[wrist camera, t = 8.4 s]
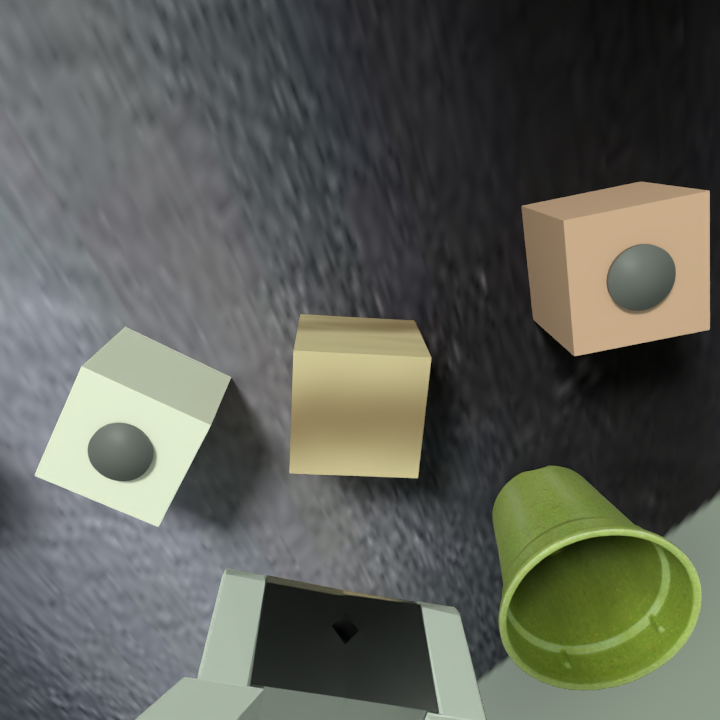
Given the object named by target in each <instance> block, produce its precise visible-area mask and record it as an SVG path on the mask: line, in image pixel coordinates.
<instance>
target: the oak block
mask: <svg viewBox="0 0 720 720" xmlns="http://www.w3.org/2000/svg"><path fill="white" fill-rule="evenodd" d="M430 367H431V355H430V353H429V351H428V349H427V347H426V344H425V342H424V340H423V338H422V336H421V334H420V331H419V329H418V327H417V325H416V323H415V321H412V320H394V319H376V318H357V317H339V316H321V315H303V314H300V319H299V324H298V330H297V335H296V341H295V346H294V355H293V384H292V413H291V442H290V471H289V473H294V474H320V475H346V476H372V477H398V478H418V473H419V464H420V455H421V447H422V438H423V429H424V420H425V411H426V402H427V393H428V384H429V375H430Z"/></svg>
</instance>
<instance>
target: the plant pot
mask: <svg viewBox="0 0 720 720" xmlns="http://www.w3.org/2000/svg"><path fill="white" fill-rule="evenodd" d="M493 526H494V531H495V537H496V542H497V547H498V553H499V559H500V565H501V572H502V578H503V590H502V600H501V603H500V609H499V630H500V635H501V639H502V643H503V645H504V648H505V650H506V652H507V653H508V655H509V657H510V658H511V659H512V661H513V662H514V663H515V664H516V665H517V666H518V667H519V668H520V669H521V670H523V671H524V672H525V673H527V674H528V675H530V676H531V677H533V678H535V679H537V680H539V681H541V682H543V683H546V684H549V685H552V686H555V687H559V688H564V689H570V690H599V689H604V688H611V687H617V686H620V685H623V684H626V683H630V682H632V681H635V680H637V679H639V678H642V677H643V676H645V675H647V674H649V673H651V672H653V671H654V670H656V669H657V668H659V667H660V666H662V665H663V664H664V663H666V662H668V661H669V660H670V659H671V658H672V657H673V656H674V655H675V654H676V653H677V652H678V651H679V650H680V649H681V648H682V646H683V645H684V644H685V643H686V642H687V640H688V639H689V637H690V635H691V634H692V632H693V629H694V627H695V625H696V623H697V620H698V616H699V614H700V609H701V599H702V594H701V585H700V581H699V577H698V574H697V572H696V570H695V567H694V566H693V564H692V563H691V561H690V560H689V559H688V558H687V556H686V555H685V554H684V553H683V552H682V551H681V550H680V549H679V548H677V547H676V546H675V545H674V544H673V543H671V542H670V541H668V540H667V539H665V538H663V537H661V536H659V535H657V534H655V533H652V532H649V531H646V530H644V529H642V528H641V527H639V526H636V525H634V524H633V523H632V522H631V521H630V520H629V519H628V518H626V517H625V516H624V515H623V514H622V513H621V512H620V511H619V510H618V509H617V508H615V507H614V506H613V505H612V504H611V503H610V502H609V501H608V500H607V499H606V498H604V497H603V496H602V495H601V494H600V493H599V492H598V491H597V490H596V489H595V488H594V487H593V486H592V485H590V484H589V483H588V482H587V481H586V480H585V479H584V478H583V477H582V476H581V475H579V474H578V473H576V472H574V471H572V470H570V469H567V468H564V467H560V466H547V467H544V468H540V469H537V470H533V471H526V472H522V473H520V474H519V475H517V476H515V477H514V478H512V479H511V480H510V481H509V482H508V483H507V484H506V485H505V486H504V487H503V488H502V490H501V491H500V493H499V494H498V496H497V498H496V500H495V503H494V507H493Z"/></svg>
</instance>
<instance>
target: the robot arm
mask: <svg viewBox="0 0 720 720" xmlns="http://www.w3.org/2000/svg"><path fill="white" fill-rule="evenodd" d="M135 720H487V719H486V715H485V711H484V707H483V703H482V699H481V696H480V691H479V687H478V684H477V680H476V676H475V672H474V668H473V664H472V660H471V656H470V652H469V648H468V644H467V640H466V636H465V632H464V628H463V625H462V621H461V617H460V613H459V612H458V611H457V609H456V608H455V607H451V606H444V605H438V604H431V603H424V602H416V603H415V602H413V601H407V600H401V599H395V598H389V597H382V596H376V595H370V594H364V593H358V592H352V591H346V590H340V589H335V588H329V587H324V586H319V585H314V584H309V583H304V582H299V581H294V580H289V579H283V578H278V577H273V576H268V575H267V576H266V579H265V576H264V575H259V574H254V573H249V572H244V571H238V570H233V569H228V568H226V570H225V572H224V574H223V576H222V580H221V584H220V588H219V592H218V596H217V600H216V604H215V608H214V612H213V616H212V620H211V624H210V628H209V633H208V637H207V641H206V645H205V649H204V653H203V657H202V661H201V665H200V669H199V673H198V677H197V679H196V678H188V677H183V678H182V679H181V680H180V681H179V682H177V683H176V684H175V685H174V686H173V687H172V688H171V689H169V690H168V691H167V692H166V693H165V694H164V695H163V696H161V697H160V698H159V699H158V700H157V701H156V702H155V703H153V704H152V705H151V706H150V707H149V708H148V709H147V710H146V711H144V712H143V713H142V714H141V715H140V716H139V717H138V718H136V719H135Z"/></svg>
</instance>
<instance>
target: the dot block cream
mask: <svg viewBox="0 0 720 720" xmlns="http://www.w3.org/2000/svg"><path fill="white" fill-rule="evenodd" d="M230 379H231V377H230V376H227V375H225V374H223V373H221V372H219V371H217V370H215V369H213V368H211V367H209V366H206V365H204V364H202V363H200V362H198V361H196V360H194V359H192V358H190V357H188V356H186V355H183V354H181V353H179V352H177V351H175V350H173V349H171V348H169V347H167V346H165V345H162V344H160V343H158V342H156V341H154V340H152V339H150V338H148V337H146V336H144V335H142V334H139V333H137V332H135V331H133V330H131V329H129V328H127V327H125V328H123V329H122V330H121V331H120V332H119V333H118V334H117V335H116V336H115V337H113V338H112V339H111V340H110V341H109V342H108V343H107V344H106V345H105V346H103V347H102V348H101V349H100V350H99V351H98V352H97V353H96V354H95V355H94V356H92V357H91V358H90V359H89V360H88V361H87V362H86V363H85V364H84V365H82V367H81V369H80V371H79V373H78V376H77V378H76V380H75V383H74V385H73V387H72V390H71V392H70V394H69V397H68V399H67V401H66V404H65V406H64V408H63V411H62V413H61V415H60V417H59V420H58V422H57V424H56V427H55V429H54V431H53V434H52V436H51V438H50V441H49V443H48V445H47V448H46V450H45V452H44V454H43V457H42V459H41V461H40V464H39V466H38V468H37V471H36V473H35V475H34V476H36V477H39V478H41V479H44V480H46V481H48V482H51V483H53V484H56V485H58V486H61V487H63V488H65V489H68V490H70V491H73V492H75V493H77V494H80V495H82V496H85V497H87V498H90V499H92V500H94V501H97V502H99V503H102V504H104V505H106V506H109V507H111V508H114V509H116V510H119V511H121V512H123V513H126V514H128V515H131V516H133V517H135V518H138V519H140V520H143V521H145V522H147V523H150V524H152V525H155V526H157V527H159V525H160V523H161V521H162V519H163V517H164V515H165V513H166V511H167V509H168V507H169V505H170V503H171V501H172V500H173V498H174V496H175V494H176V492H177V490H178V488H179V486H180V484H181V482H182V480H183V478H184V476H185V474H186V473H187V471H188V469H189V467H190V465H191V463H192V461H193V459H194V457H195V455H196V453H197V451H198V449H199V447H200V446H201V444H202V442H203V440H204V438H205V436H206V434H207V432H208V430H209V428H210V426H211V424H212V422H213V419H214V417H215V415H216V412H217V410H218V408H219V405H220V403H221V401H222V398H223V396H224V393H225V391H226V389H227V386H228V384H229V382H230Z"/></svg>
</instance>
